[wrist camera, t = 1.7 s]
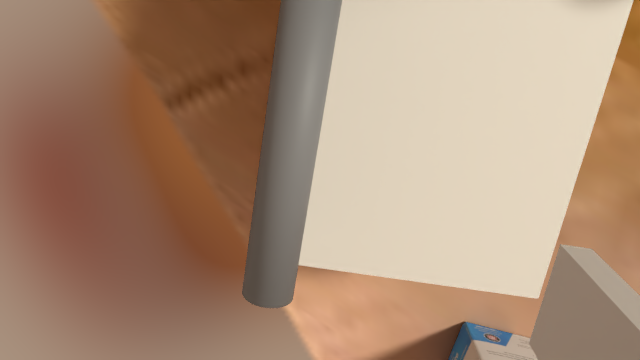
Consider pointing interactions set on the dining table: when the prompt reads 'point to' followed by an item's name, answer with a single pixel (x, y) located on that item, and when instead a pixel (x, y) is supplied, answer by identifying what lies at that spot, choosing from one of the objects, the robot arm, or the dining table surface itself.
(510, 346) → the ink box
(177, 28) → the dining table surface
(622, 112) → the dining table surface
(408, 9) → the lid flap
